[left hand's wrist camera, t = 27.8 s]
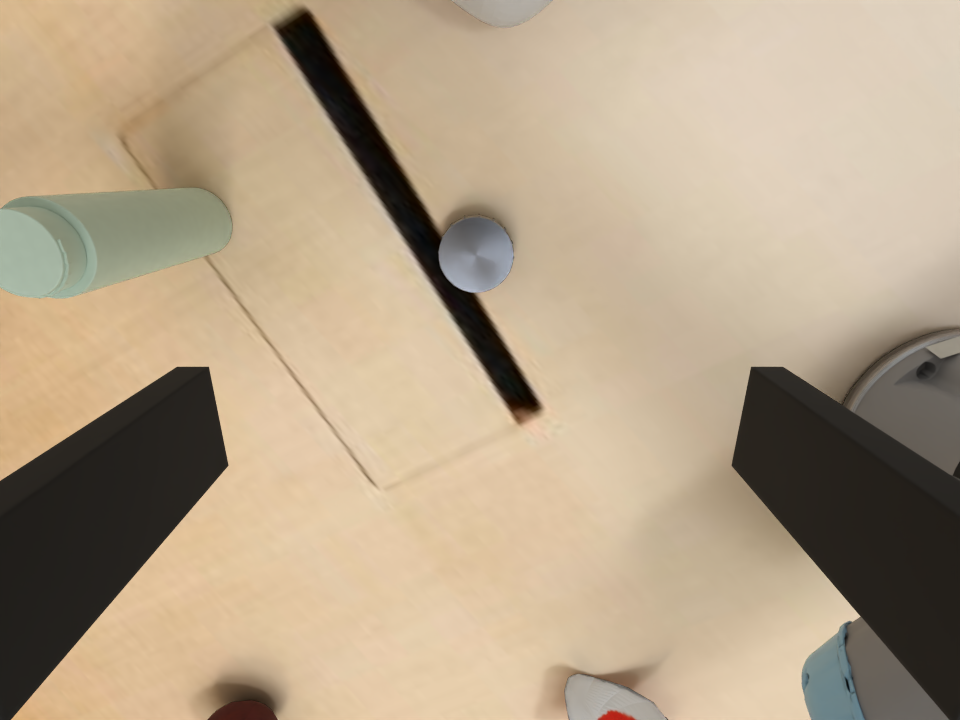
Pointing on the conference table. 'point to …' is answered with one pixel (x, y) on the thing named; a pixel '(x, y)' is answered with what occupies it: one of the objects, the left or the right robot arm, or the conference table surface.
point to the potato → (244, 711)
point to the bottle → (104, 238)
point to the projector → (503, 10)
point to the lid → (476, 253)
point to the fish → (606, 701)
